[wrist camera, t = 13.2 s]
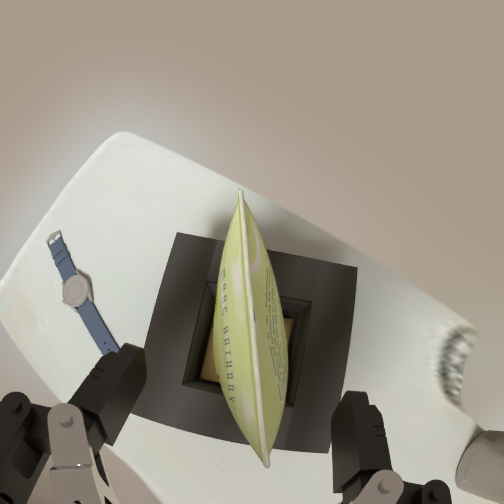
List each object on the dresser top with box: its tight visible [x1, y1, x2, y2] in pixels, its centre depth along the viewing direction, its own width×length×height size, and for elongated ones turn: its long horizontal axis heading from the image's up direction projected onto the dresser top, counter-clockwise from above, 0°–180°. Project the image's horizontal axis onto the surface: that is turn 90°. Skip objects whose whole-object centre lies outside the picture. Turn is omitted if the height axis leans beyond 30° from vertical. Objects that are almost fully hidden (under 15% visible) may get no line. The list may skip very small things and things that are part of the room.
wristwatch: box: [46, 231, 120, 356], centre depth 28 cm, size 4×20×1 cm, turn 40°
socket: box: [130, 232, 358, 453], centre depth 23 cm, size 16×16×9 cm
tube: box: [213, 188, 288, 468], centre depth 16 cm, size 6×5×20 cm
